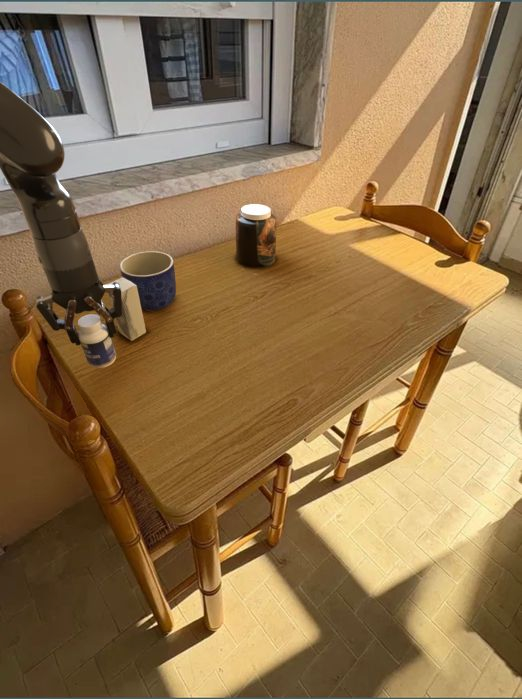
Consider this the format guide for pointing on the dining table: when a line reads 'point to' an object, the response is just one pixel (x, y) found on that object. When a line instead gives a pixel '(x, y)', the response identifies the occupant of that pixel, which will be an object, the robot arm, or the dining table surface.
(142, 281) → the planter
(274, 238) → the jar
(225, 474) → the dining table surface
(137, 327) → the box
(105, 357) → the pill bottle
